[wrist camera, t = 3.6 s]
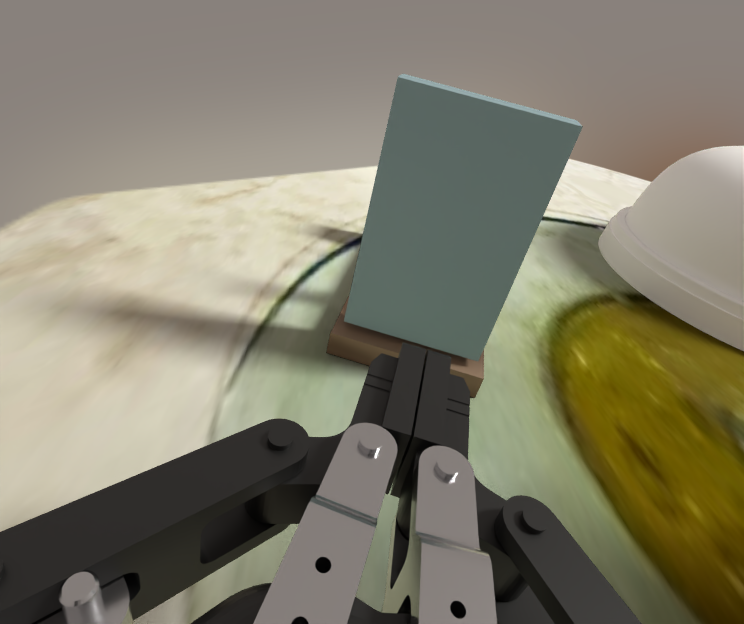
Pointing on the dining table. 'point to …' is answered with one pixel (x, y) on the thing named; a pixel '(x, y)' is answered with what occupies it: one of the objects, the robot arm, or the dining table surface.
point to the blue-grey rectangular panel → (453, 213)
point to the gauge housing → (393, 350)
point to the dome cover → (688, 242)
